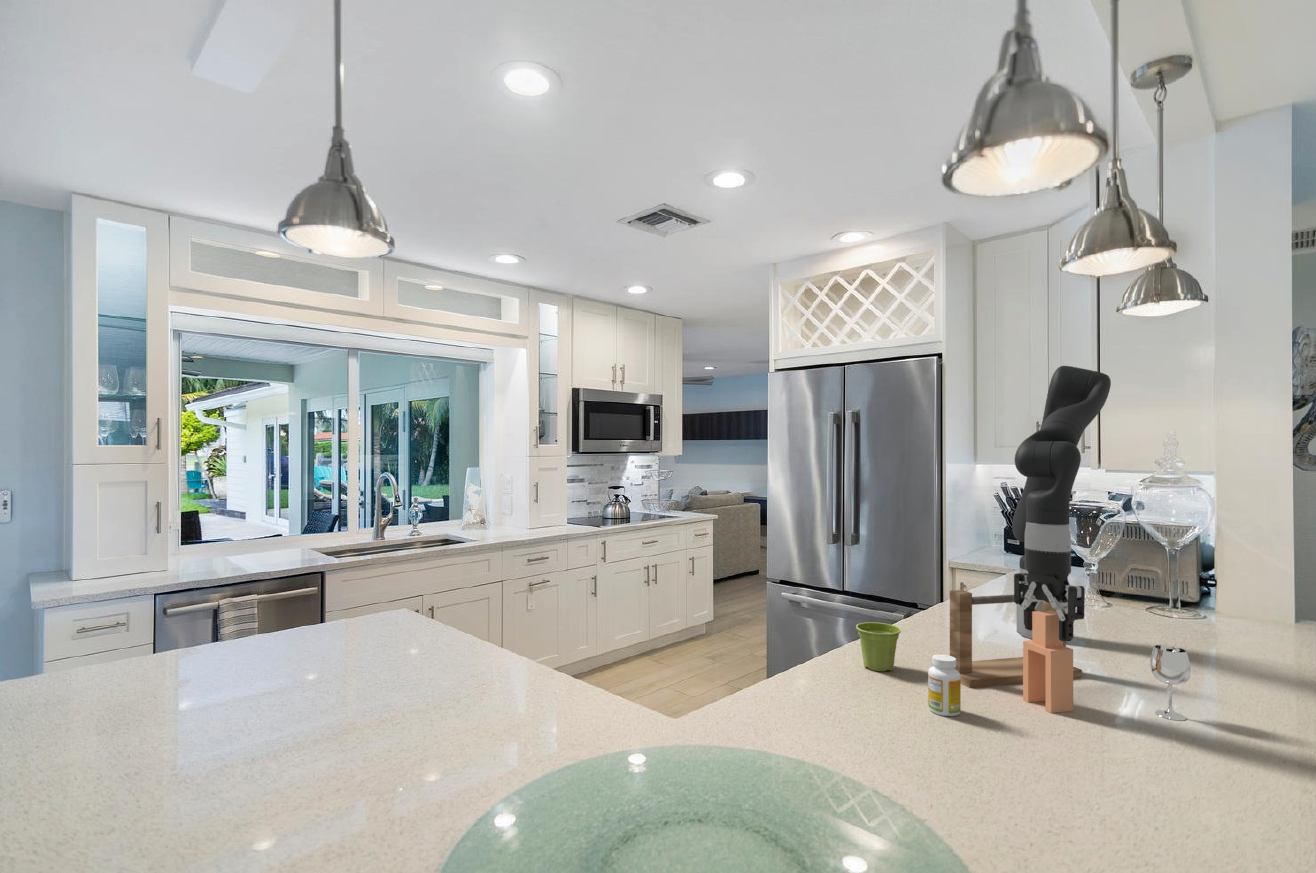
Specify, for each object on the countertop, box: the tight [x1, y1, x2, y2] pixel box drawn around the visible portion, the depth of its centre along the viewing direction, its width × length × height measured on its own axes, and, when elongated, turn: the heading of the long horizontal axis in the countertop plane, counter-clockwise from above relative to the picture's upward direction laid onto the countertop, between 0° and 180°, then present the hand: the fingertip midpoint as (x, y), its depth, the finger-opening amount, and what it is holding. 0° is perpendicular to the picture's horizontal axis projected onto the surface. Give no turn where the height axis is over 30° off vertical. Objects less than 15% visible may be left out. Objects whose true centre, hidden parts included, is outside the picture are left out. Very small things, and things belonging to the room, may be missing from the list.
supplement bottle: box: [927, 654, 962, 717], centre depth 119 cm, size 5×5×10 cm
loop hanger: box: [1022, 610, 1074, 714], centre depth 122 cm, size 6×5×17 cm
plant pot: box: [855, 621, 902, 673], centre depth 143 cm, size 9×9×9 cm
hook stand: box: [949, 589, 1083, 689], centre depth 139 cm, size 10×28×18 cm, turn 104°
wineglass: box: [1149, 644, 1192, 721], centre depth 118 cm, size 6×6×12 cm
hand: (1047, 634), depth 122 cm, fingers open, 7 cm apart
